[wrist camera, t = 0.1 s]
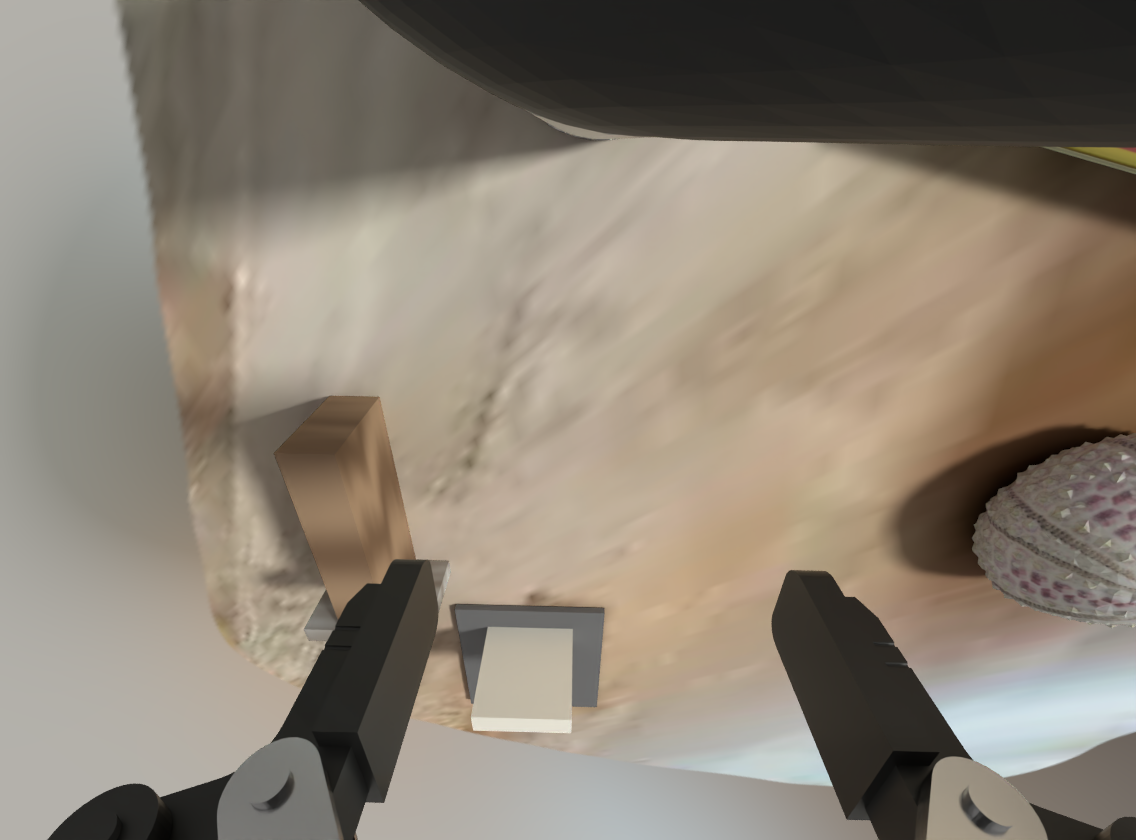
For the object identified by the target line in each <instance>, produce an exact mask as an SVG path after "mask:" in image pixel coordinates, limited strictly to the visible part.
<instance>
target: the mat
mask: <svg viewBox="0 0 1136 840" xmlns="http://www.w3.org/2000/svg"><path fill="white" fill-rule="evenodd" d="M455 614H456V619H457V625H458V631H459V637H460V642H461V648H462V654H463V659H464V665H465V671H466V676H467V682H468V688H469V693H470V699H471V704H474V698H475V693H476V688H477V682H478V677H479V672H480V666H481V661H482V656H483V650H484V645H485V639H486V634H487V629H488V627H517V628H556V629H573V647H572V706H574V707H597V697H598V685H599V673H600V661H601V649H602V637H603V625H604V608H585V607H545V606H506V605H466V604H456V607H455Z"/></svg>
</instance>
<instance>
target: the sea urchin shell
mask: <svg viewBox="0 0 1136 840" xmlns="http://www.w3.org/2000/svg"><path fill="white" fill-rule="evenodd" d="M986 509H987V511H986V512H985V513H982V514H980V515H979V518H978V520H977V522H976V524H973V525H974V527H975V530H976V531H975V533H974V535H973V537H972V539H973V541H974V545H973V547H972V551H973V552H974V553H975V554H976V555H977V556H978V558H979V559H978V564H979V566H980V567H981V568H982V569H984V570H985V571H986V573H985V576H986V577H987V578H988V579H989V580H991V581H992V586H993V588H994V589H997V590H1000V591H1001V592H1002V593H1003V594H1004V598H1009V599H1014V600H1015V601H1016V602H1017V603H1019V604H1020V605H1021V606H1028V607H1030V608H1032V609H1033V610H1035V611H1040V612H1043V613H1048V614H1050V615H1052V616H1059V617H1062V618H1066V619H1068V620H1076V621H1079V622H1086V623H1088V624H1089V625H1090V624H1094V623H1096V624H1105V625H1107V626H1109V627H1110V628H1113V627H1116V626H1118V625H1125V626H1128V627H1131V628H1133V627H1134V626H1136V434H1135V433H1132V434H1130V435H1128V436H1125V435H1122V434H1120V435H1118V436H1117V437H1115V438H1111V437H1106V438H1104V439H1103V440H1102V441H1101V442H1099V443H1095V444H1092V443H1089V442H1085V443H1084V444H1083V445H1081V446H1080V447H1075V448H1074V447H1072V448H1071V449H1068V450H1062V451H1060V453H1059V454H1058V455H1051V456H1050V457H1049V459H1046V460H1045V461H1044V462H1043V463H1041V464H1038V465H1029V467H1028V469H1027V470H1026V471H1024V472H1020V473H1017V479H1016V480H1015V481H1014V482H1013V483H1012V484H1011V485H1009V486H1007V487H1004V488H1000V489H998V493H997V495H996V496H994V497H992V498H991V499H990V501H988V503H986Z"/></svg>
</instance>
